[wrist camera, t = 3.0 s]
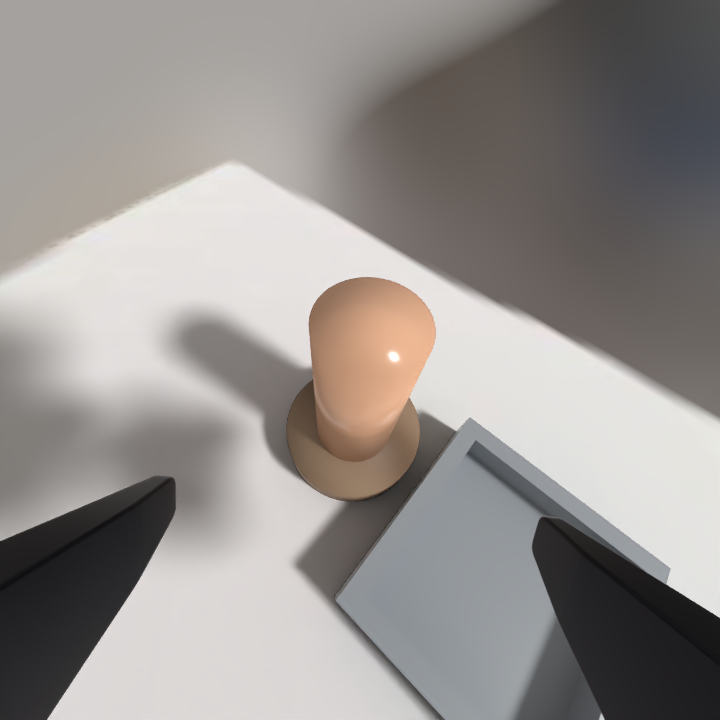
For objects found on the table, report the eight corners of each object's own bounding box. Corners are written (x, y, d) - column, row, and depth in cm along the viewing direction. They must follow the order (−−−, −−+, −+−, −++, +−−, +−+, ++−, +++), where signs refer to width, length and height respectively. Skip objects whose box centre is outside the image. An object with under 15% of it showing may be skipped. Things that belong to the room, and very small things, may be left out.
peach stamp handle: (357, 478, 18) (382, 406, 10) (301, 427, 20) (281, 324, 11) (404, 422, 20) (459, 322, 12) (351, 379, 22) (365, 260, 13)
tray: (546, 825, 14) (586, 874, 12) (334, 596, 17) (335, 600, 15) (632, 567, 19) (670, 568, 17) (456, 431, 23) (469, 417, 20)
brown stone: (358, 532, 19) (361, 529, 17) (263, 439, 21) (257, 428, 19) (436, 431, 22) (445, 421, 21) (347, 361, 25) (348, 346, 23)
